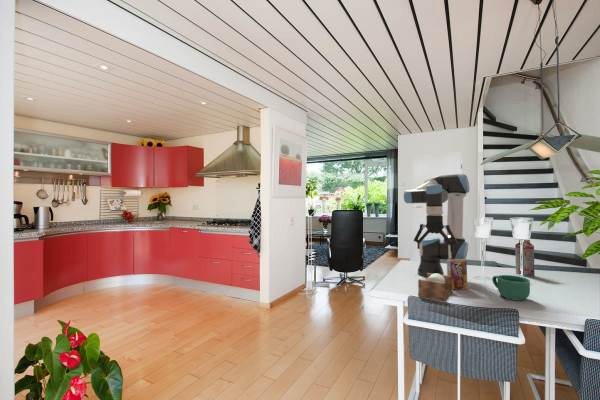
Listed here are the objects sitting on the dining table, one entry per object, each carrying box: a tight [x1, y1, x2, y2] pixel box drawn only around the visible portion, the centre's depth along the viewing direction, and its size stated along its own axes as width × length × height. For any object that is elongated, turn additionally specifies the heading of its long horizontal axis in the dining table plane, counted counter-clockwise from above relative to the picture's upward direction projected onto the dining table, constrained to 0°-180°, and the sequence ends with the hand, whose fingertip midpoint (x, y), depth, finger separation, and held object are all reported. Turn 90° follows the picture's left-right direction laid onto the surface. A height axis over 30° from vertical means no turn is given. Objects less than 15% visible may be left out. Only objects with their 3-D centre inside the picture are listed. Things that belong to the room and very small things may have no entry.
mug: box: [491, 274, 531, 301], centre depth 142 cm, size 17×13×10 cm
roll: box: [425, 273, 445, 283], centre depth 148 cm, size 12×8×8 cm, turn 143°
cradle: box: [417, 273, 453, 302], centre depth 148 cm, size 12×18×8 cm, turn 143°
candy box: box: [446, 259, 468, 290], centre depth 157 cm, size 9×4×15 cm, turn 89°
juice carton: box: [514, 239, 535, 277], centre depth 184 cm, size 7×7×22 cm
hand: (435, 256), depth 148 cm, fingers open, 13 cm apart
